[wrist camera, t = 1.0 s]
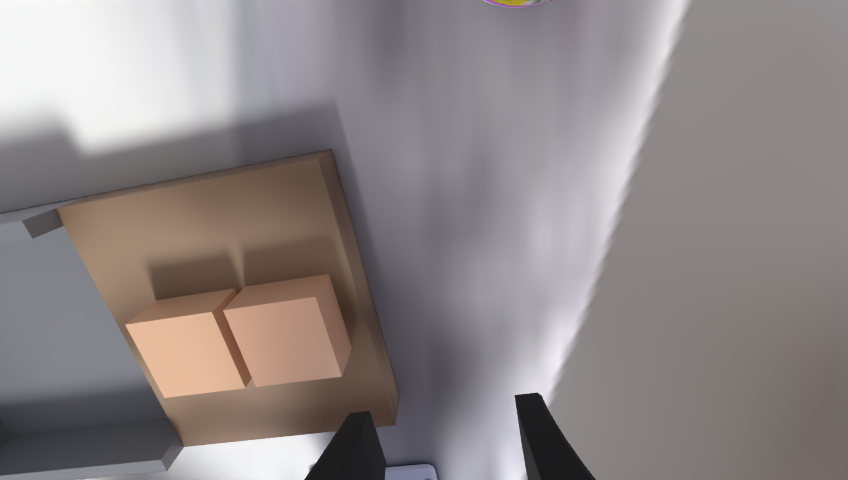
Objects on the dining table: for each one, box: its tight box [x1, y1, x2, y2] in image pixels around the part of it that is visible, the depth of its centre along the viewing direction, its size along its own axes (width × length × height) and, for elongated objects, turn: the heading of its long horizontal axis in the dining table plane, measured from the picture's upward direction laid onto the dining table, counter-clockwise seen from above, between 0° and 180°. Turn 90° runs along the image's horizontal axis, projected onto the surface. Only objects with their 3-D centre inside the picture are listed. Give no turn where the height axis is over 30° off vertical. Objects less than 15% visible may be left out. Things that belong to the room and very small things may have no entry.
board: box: [55, 149, 399, 447], centre depth 21 cm, size 14×12×2 cm
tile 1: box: [223, 274, 352, 387], centre depth 19 cm, size 4×4×2 cm
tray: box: [0, 196, 184, 480], centre depth 22 cm, size 14×13×4 cm
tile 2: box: [125, 288, 252, 398], centre depth 19 cm, size 4×4×2 cm
